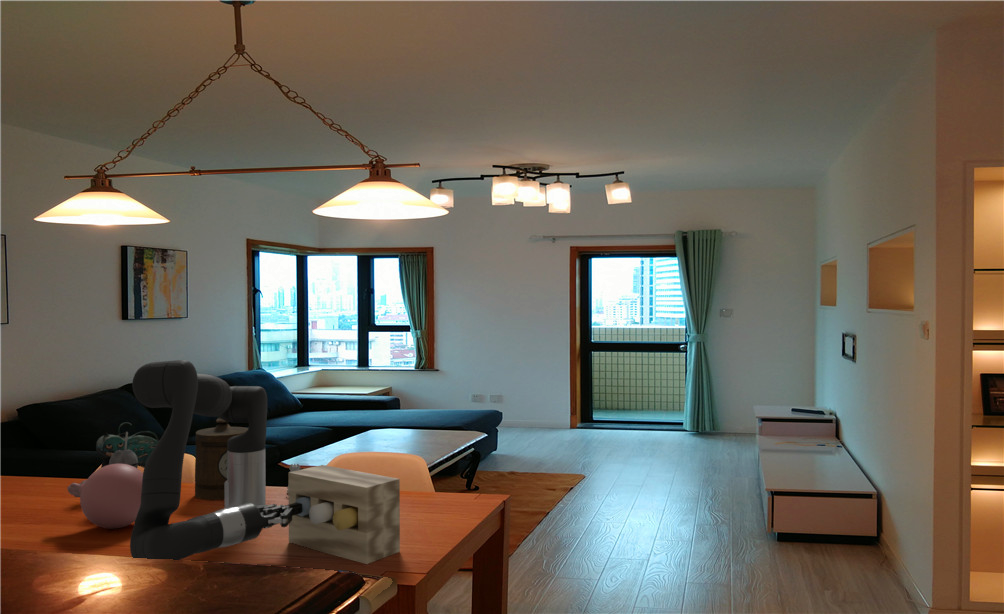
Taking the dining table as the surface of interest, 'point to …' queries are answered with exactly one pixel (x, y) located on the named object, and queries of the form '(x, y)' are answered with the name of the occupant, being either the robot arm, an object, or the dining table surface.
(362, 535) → the block
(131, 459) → the beverage cup
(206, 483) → the wooden container
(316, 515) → the white button
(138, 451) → the ceramic cat
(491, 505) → the dining table surface
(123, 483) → the balloon
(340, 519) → the ochre button
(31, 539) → the dining table surface
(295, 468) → the rook chess piece
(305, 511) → the slate button
